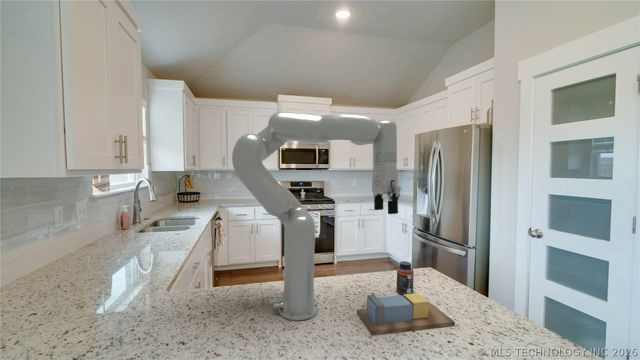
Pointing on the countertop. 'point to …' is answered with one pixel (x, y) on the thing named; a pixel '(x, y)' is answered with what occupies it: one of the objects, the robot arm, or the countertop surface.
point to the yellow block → (418, 305)
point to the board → (408, 322)
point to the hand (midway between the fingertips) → (385, 211)
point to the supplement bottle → (405, 278)
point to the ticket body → (389, 309)
